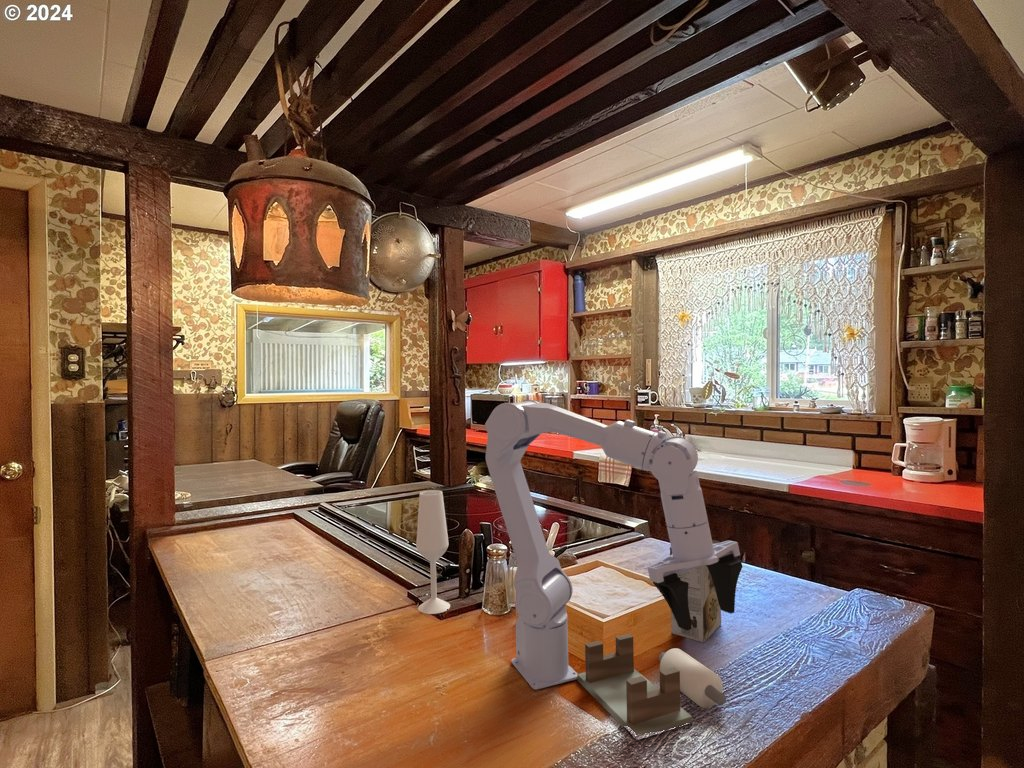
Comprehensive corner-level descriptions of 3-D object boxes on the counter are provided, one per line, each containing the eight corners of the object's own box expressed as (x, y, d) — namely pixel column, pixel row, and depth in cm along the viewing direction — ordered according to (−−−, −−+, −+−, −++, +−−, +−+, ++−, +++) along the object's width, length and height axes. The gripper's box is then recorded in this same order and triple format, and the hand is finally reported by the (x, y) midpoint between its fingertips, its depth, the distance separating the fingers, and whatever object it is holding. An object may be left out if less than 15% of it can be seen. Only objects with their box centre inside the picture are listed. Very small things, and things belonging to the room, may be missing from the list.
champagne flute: (413, 604, 119) (410, 491, 118) (443, 598, 122) (440, 488, 122) (423, 616, 113) (420, 497, 113) (455, 609, 116) (452, 493, 116)
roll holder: (577, 680, 88) (576, 639, 88) (625, 667, 92) (625, 628, 92) (636, 741, 74) (635, 692, 74) (692, 723, 77) (691, 676, 77)
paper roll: (651, 676, 90) (648, 646, 89) (677, 666, 92) (673, 637, 91) (709, 723, 78) (705, 688, 77) (737, 710, 79) (733, 676, 79)
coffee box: (689, 616, 110) (687, 534, 110) (722, 624, 106) (720, 540, 106) (669, 633, 103) (668, 546, 103) (704, 643, 99) (702, 552, 99)
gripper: (662, 539, 73) (683, 644, 73) (746, 513, 79) (767, 611, 78) (632, 533, 80) (651, 629, 79) (712, 509, 85) (730, 599, 85)
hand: (706, 619), depth 79 cm, fingers open, 7 cm apart
